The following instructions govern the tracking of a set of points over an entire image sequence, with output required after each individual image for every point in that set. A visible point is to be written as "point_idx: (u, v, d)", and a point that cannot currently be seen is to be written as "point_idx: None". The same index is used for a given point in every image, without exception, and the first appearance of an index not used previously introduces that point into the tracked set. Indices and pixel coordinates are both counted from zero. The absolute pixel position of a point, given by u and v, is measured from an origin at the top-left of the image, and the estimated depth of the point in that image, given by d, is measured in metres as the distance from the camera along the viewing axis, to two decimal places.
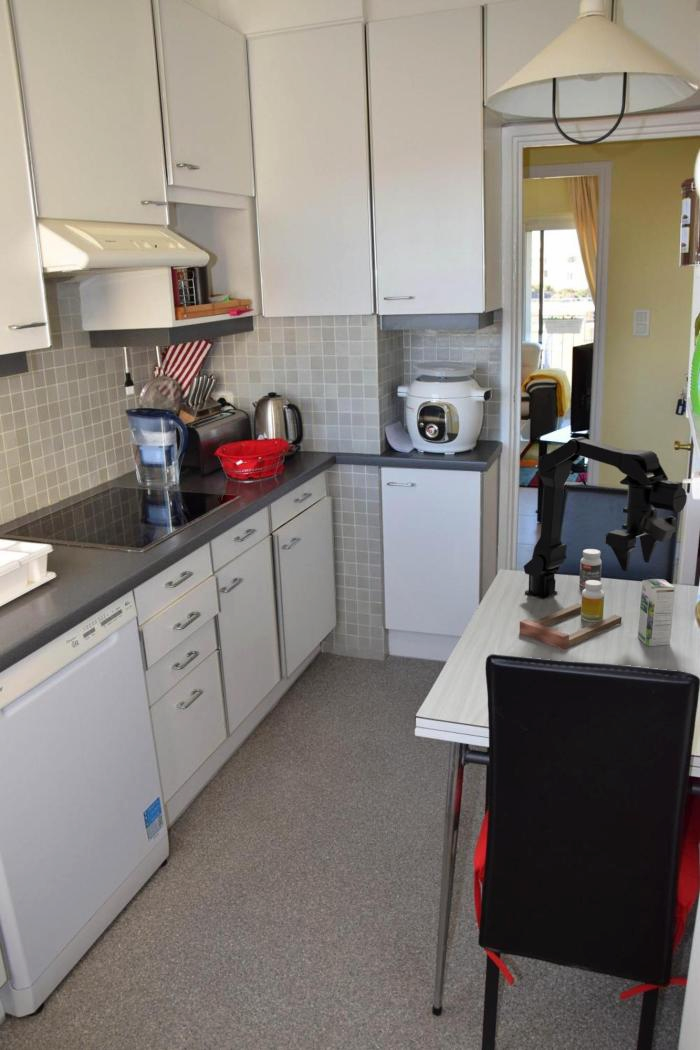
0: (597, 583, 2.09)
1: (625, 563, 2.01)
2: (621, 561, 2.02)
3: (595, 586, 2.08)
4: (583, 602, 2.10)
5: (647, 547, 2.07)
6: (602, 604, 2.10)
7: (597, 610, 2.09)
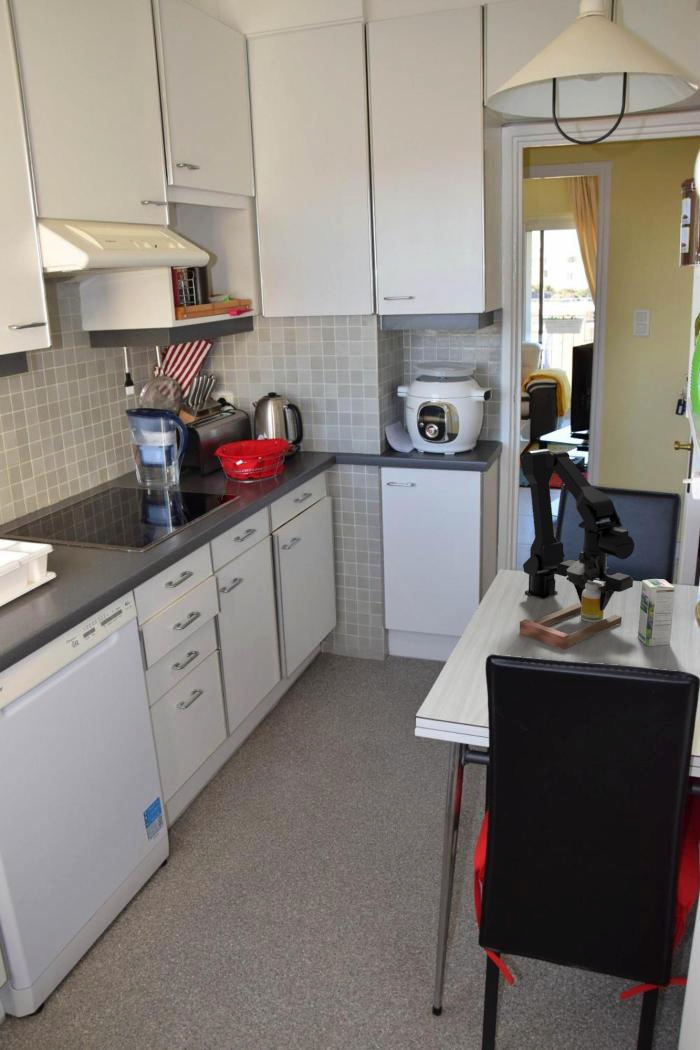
0: (597, 583, 2.09)
1: None
2: None
3: (595, 586, 2.08)
4: (583, 602, 2.10)
5: None
6: None
7: (597, 610, 2.09)
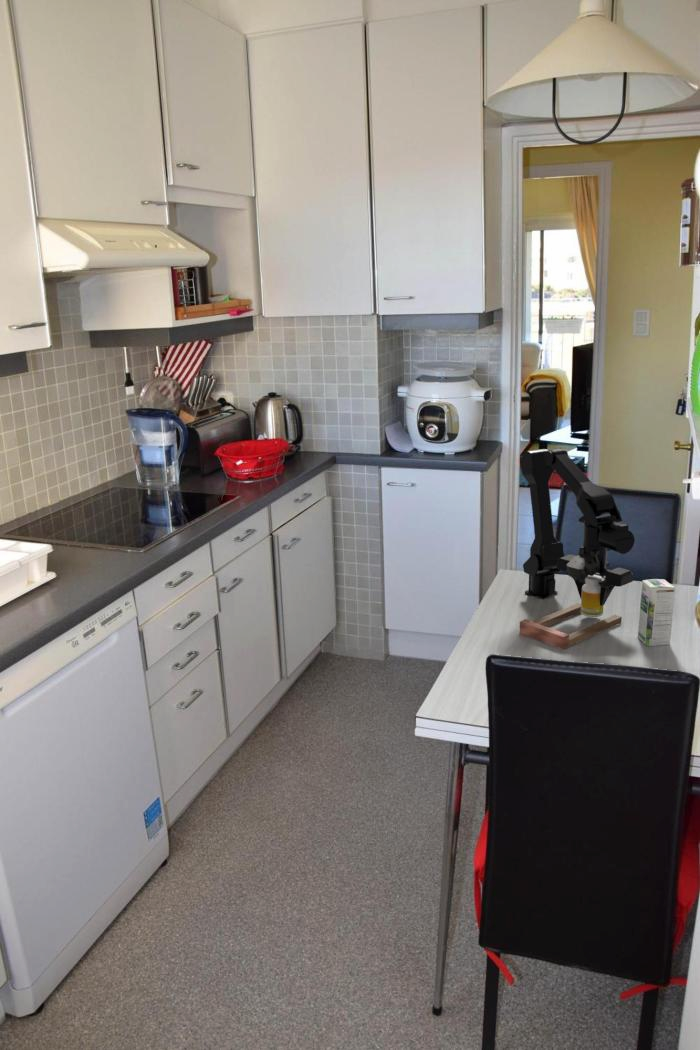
0: (597, 577, 2.09)
1: None
2: None
3: (595, 581, 2.08)
4: (583, 597, 2.10)
5: None
6: None
7: (597, 604, 2.09)
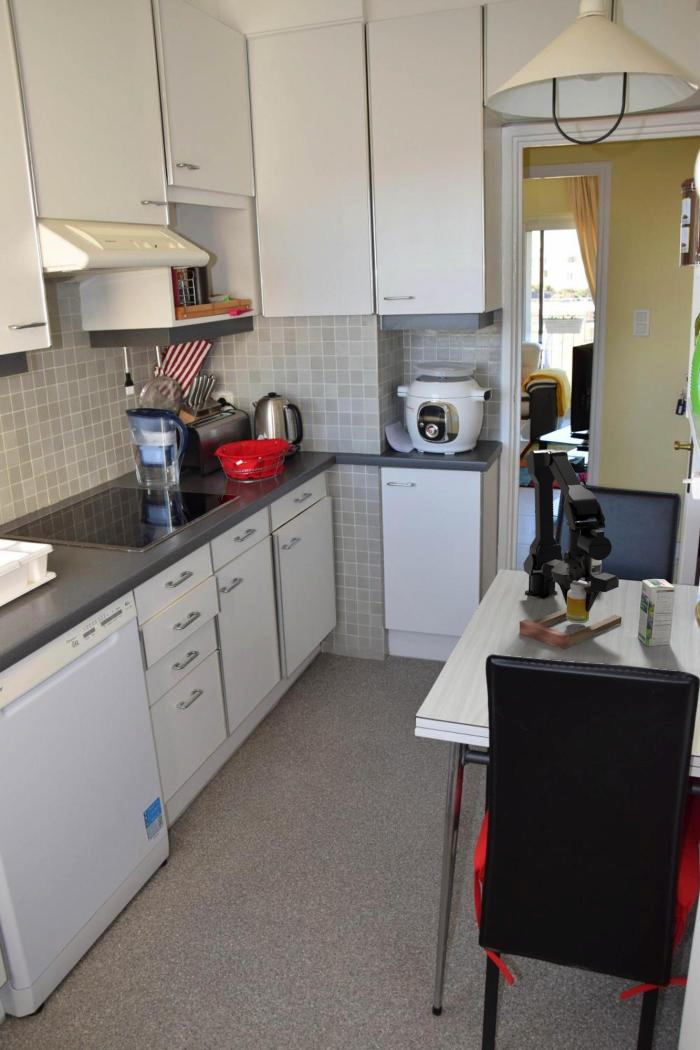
0: (583, 583, 2.05)
1: None
2: None
3: (580, 586, 2.04)
4: (568, 603, 2.06)
5: None
6: None
7: (583, 610, 2.05)
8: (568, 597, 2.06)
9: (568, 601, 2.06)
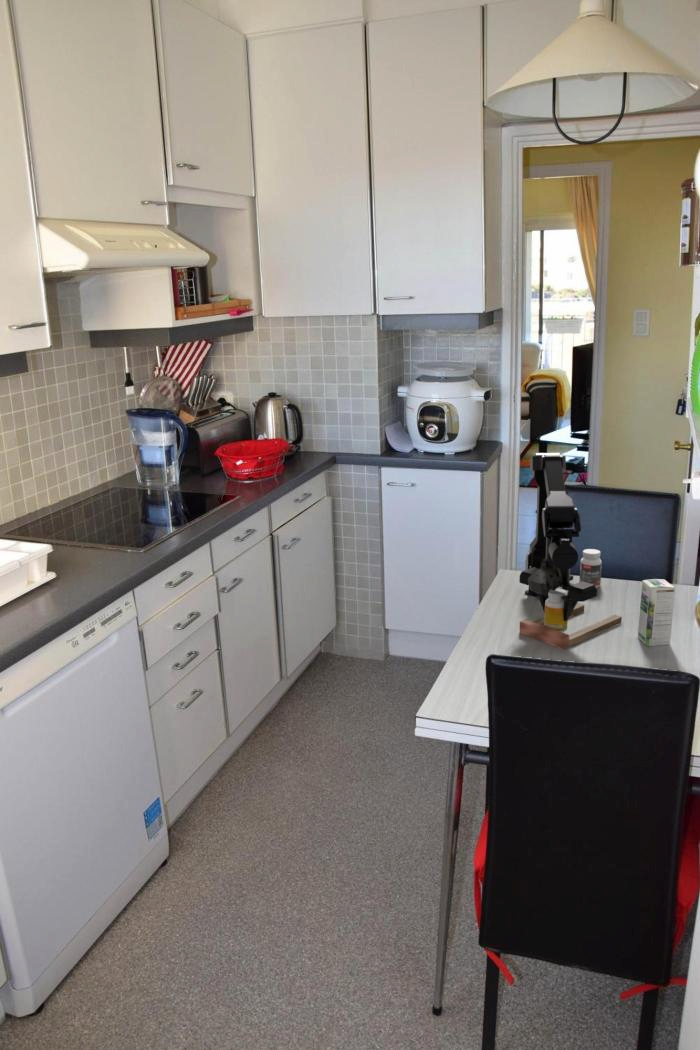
0: (561, 591, 2.00)
1: None
2: None
3: (558, 595, 1.99)
4: (546, 612, 2.01)
5: None
6: None
7: (561, 620, 2.00)
8: (546, 606, 2.01)
9: (546, 610, 2.01)
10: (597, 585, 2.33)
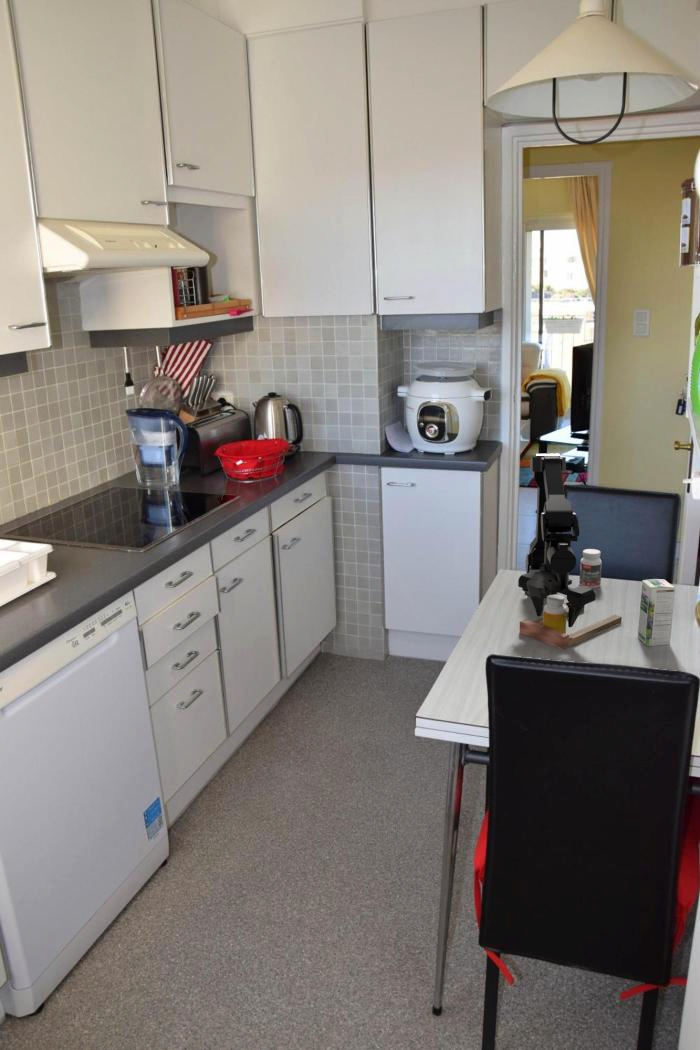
0: (559, 597, 2.01)
1: None
2: None
3: (557, 601, 1.99)
4: (545, 618, 2.02)
5: None
6: (564, 620, 2.01)
7: (559, 626, 2.00)
8: (544, 612, 2.01)
9: (544, 616, 2.02)
10: (597, 585, 2.33)
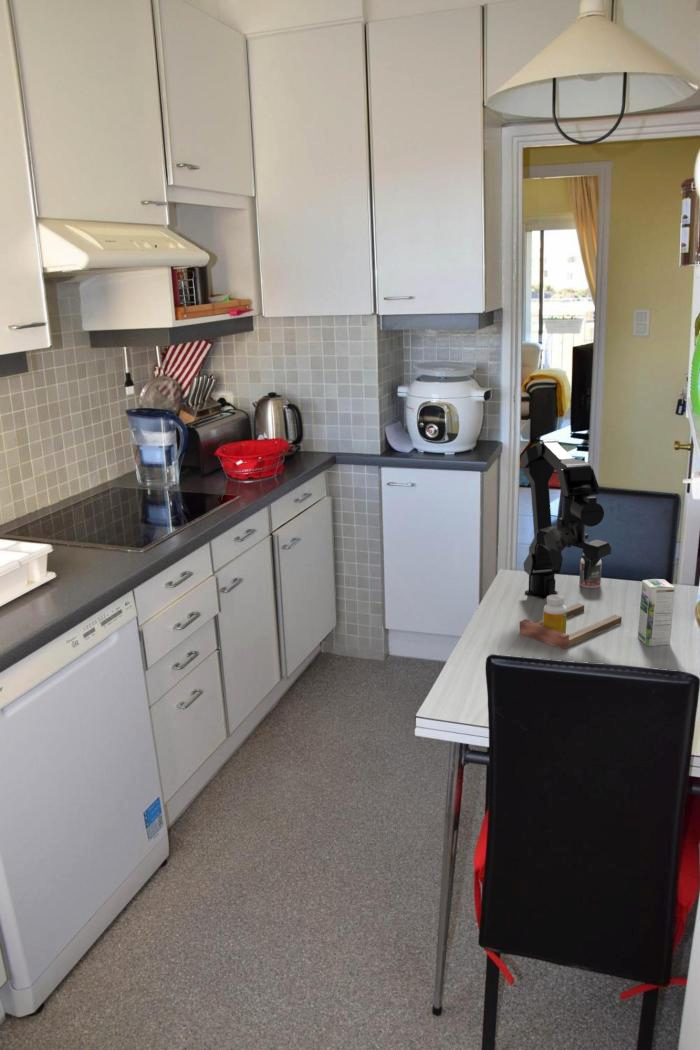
0: (559, 597, 2.01)
1: None
2: None
3: (557, 601, 1.99)
4: (545, 618, 2.02)
5: None
6: (564, 620, 2.01)
7: (559, 626, 2.00)
8: (544, 612, 2.01)
9: (544, 616, 2.02)
10: (597, 585, 2.33)
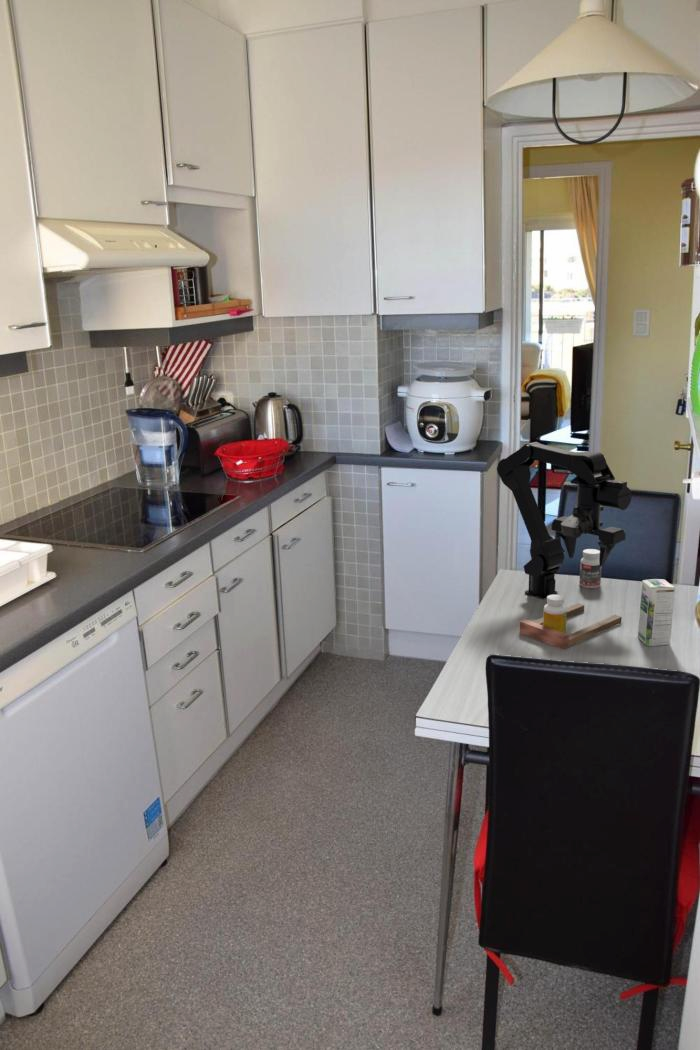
0: (559, 597, 2.01)
1: None
2: None
3: (557, 601, 1.99)
4: (545, 618, 2.02)
5: None
6: (564, 620, 2.01)
7: (559, 626, 2.00)
8: (544, 612, 2.01)
9: (544, 616, 2.02)
10: (597, 585, 2.33)
